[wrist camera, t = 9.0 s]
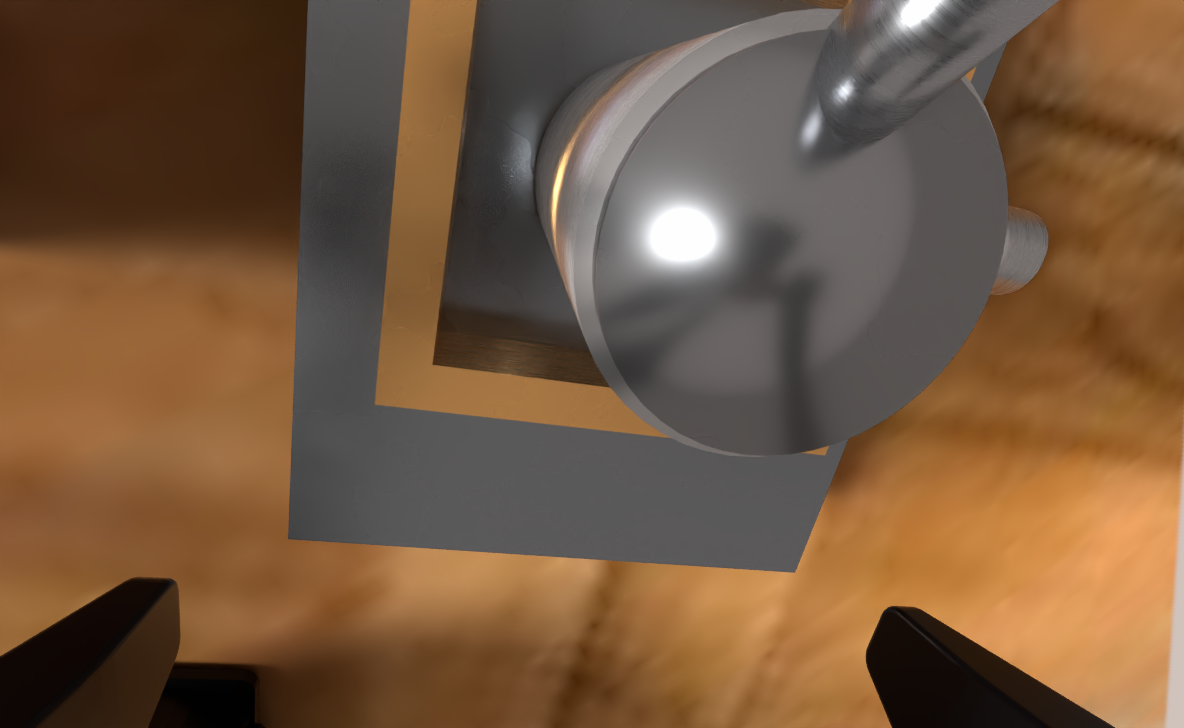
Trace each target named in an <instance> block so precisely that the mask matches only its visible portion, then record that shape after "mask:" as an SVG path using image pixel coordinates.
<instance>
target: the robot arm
mask: <svg viewBox="0 0 1184 728" xmlns="http://www.w3.org/2000/svg"><path fill="white" fill-rule="evenodd" d="M179 645H180V611H179V589H178V585H177V583H176V582H175V581H174V580H173V579H170V578H153V577H135V578H131V579H129V580H127V581H125V582H123V583H121V584H120V585H118V586H116V587H115V588H113V589H111V590H110V591H108V592H106V593H105V594H103V595H101V596H100V597H98V598H96V599H95V600H93V601H91V602H90V603H88V604H86V605H85V606H83V607H81V608H80V609H78V610H77V611H75V612H73V613H72V614H70V615H68V616H67V617H65V618H63V619H62V620H60V621H58V622H57V623H55V624H53V625H52V626H50V627H48V628H47V629H45V630H43V631H42V632H40V633H38V634H37V635H35V636H33V637H32V638H30V639H28V640H27V641H25V642H23V643H22V644H20V645H18V646H17V647H15V648H13V649H12V650H10V651H8V652H7V653H5V654H3V655H2V656H0V728H266V727H265V726H264V724H263V723H258V712H259V679H258V676H257V675H256V674H255V673H253V672H251V671H247V670H223V669H181V668H172V667H173V665H174V662H175V659H176V656H177V653H178V649H179ZM866 664H867V668H868V671H869V673H870V676H871V678H872V680H873V683H874V685H875V688H876V690H877V693H878V695H879V697H880V700H881V702H882V705H883V707H884V709H885V712H886V714H887V717H888V719H889V722H890V724H891V726H892V728H1115V727H1113V726H1112V725H1110V724H1108V723H1107V722H1105V721H1103V720H1102V719H1100V718H1098V717H1097V716H1095V715H1093V714H1092V713H1090V712H1089V711H1087V710H1085V709H1084V708H1082V707H1080V706H1079V705H1077V704H1075V703H1074V702H1072V701H1070V700H1069V699H1067V698H1066V697H1064V696H1062V695H1061V694H1059V693H1057V692H1056V691H1054V690H1052V689H1051V688H1049V687H1047V686H1046V685H1044V684H1042V683H1041V682H1039V681H1038V680H1036V679H1034V678H1033V677H1031V676H1029V675H1028V674H1026V673H1024V672H1023V671H1021V670H1019V669H1018V668H1016V667H1015V666H1013V665H1011V664H1010V663H1008V662H1006V661H1005V660H1003V659H1001V658H1000V657H998V656H996V655H995V654H993V653H992V652H990V651H988V650H987V649H985V648H983V647H982V646H980V645H978V644H977V643H975V642H973V641H972V640H970V639H968V638H967V637H965V636H964V635H962V634H960V633H959V632H957V631H955V630H954V629H952V628H950V627H949V626H947V625H945V624H944V623H942V622H941V621H939V620H937V619H936V618H934V617H932V616H931V615H929V614H927V613H926V612H924V611H922V610H921V609H918V608H915V607H905V606H891V607H888V608H887V609H886V610H885V611H884V612H883V613H882V615H881V618H880V620H879V622H878V624H877V627H876V629H875V631H874V633H873V636H872V638H871V640H870V642H869V645H868V647H867V650H866ZM241 685H242V686H241Z"/></svg>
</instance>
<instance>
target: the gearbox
mask: <svg viewBox="0 0 1184 728" xmlns="http://www.w3.org/2000/svg"><path fill="white" fill-rule="evenodd" d="M849 1H850V0H308V14H307V42H306V69H305V96H304V123H303V150H302V178H301V205H300V232H299V259H298V287H297V314H296V341H295V368H294V395H293V423H292V450H291V477H290V504H289V532H288V539H295V540H310V541H325V542H340V543H355V544H370V545H386V546H401V547H416V548H431V549H446V550H461V551H476V552H491V553H506V554H522V555H537V556H552V557H567V558H582V559H597V560H612V561H627V562H643V563H658V564H673V565H688V566H703V567H718V568H733V569H748V570H764V571H779V572H794V573H795V571H796V569H797V566H798V564H799V561H800V559H801V556H802V554H803V551H804V549H805V546H806V544H807V541H808V539H809V536H810V534H811V531H812V529H813V526H814V524H815V521H816V519H817V516H818V514H819V511H820V509H821V506H822V504H823V501H824V499H825V496H826V494H827V491H828V489H829V486H830V484H831V481H832V479H833V476H834V474H835V471H836V469H837V466H838V464H839V461H840V459H841V457H842V454H843V452H844V449H845V447H846V444H847V442H848V439H849V438H848V439H846V440H844V441H841V442H839V443H836V444H833V445H829V446H826V447H823V448H819V449H816V450H812V451H806V452H801V453H795V454H789V455H779V456H764V457H743V456H729V455H724V454H718V453H713V452H707V451H704V450H701V449H698V448H695V447H692V446H688V445H685V444H683V443H681V442H679V441H677V440H675V439H672V438H670V437H668V436H666V435H664V434H662V433H661V432H659V431H658V430H656V429H655V428H653V427H652V426H650V425H649V424H647V423H646V422H644V421H643V420H642V419H641V418H639V417H638V416H637V415H636V414H635V413H634V412H633V411H632V410H631V409H629V408H628V407H627V406H626V405H625V404H624V403H623V402H622V400H621V399H620V398H619V397H618V396H617V394H616V393H615V392H614V391H613V390H612V388H611V387H610V386H609V385H608V383H607V381H606V380H605V378H604V377H603V375H602V373H601V372H600V370H599V368H598V367H597V365H596V364H595V361H594V359H593V357H592V354H591V352H590V350H589V347H588V345H587V343H586V341H585V338H584V336H583V333H582V330H581V328H580V325H579V322H578V320H577V317H576V314H575V312H574V309H573V306H572V304H571V301H570V298H569V296H568V293H567V291H566V288H565V285H564V283H563V280H562V277H561V275H560V272H559V269H558V267H557V264H556V261H555V259H554V256H553V254H552V251H551V248H550V246H549V243H548V240H547V238H546V235H545V232H544V230H543V227H542V224H541V221H540V217H539V214H538V210H537V204H536V198H535V169H536V161H537V156H538V152H539V148H540V144H541V142H542V139H543V136H544V134H545V131H546V129H547V127H548V125H549V123H550V121H551V119H552V117H553V116H554V114H555V112H556V111H557V110H558V108H559V107H560V105H561V104H562V103H563V101H564V100H565V99H566V98H567V97H568V96H569V95H570V94H571V92H572V91H573V90H574V89H575V88H576V87H578V86H579V85H580V84H581V83H582V82H584V81H585V80H586V79H587V78H589V77H590V76H592V75H593V74H595V73H597V72H598V71H600V70H602V69H604V68H606V67H608V66H610V65H613V64H615V63H617V62H620V61H624V60H627V59H630V58H633V57H637V56H640V55H643V54H646V53H650V52H653V51H656V50H659V49H663V48H666V47H669V46H672V45H676V44H679V43H682V42H685V41H689V40H692V39H695V38H698V37H702V36H705V35H708V34H711V33H715V32H718V31H721V30H724V29H728V28H731V27H734V26H737V25H741V24H744V23H747V22H750V21H754V20H758V19H761V18H765V17H769V16H772V15H776V14H780V13H783V12H791V11H799V10H808V9H816V8H819V9H843V8H844V7H845V6H846V5H847V4H848V2H849ZM1007 42H1008V41H1007ZM1007 42H1006V43H1005V44H1004V45H1002V46H1001V47H1000V48H999V49H997V50H996V51H995V52H994V53H992V54H991V55H990V56H989V57H987V58H986V59H985V60H984V61H982V62H981V63H980V64H979V65H977V66H976V67H975V68H974V69H972V70H971V71H970V72H969V73H967V74H966V75H965V76H966V77H967V78H968V79H969V81H970V82H971V83H972V85H973V86H974V88H975V90H976V92H977V93H978V95H979V97H980V99H981V100H982V102H984V99H985V97H986V94H987V92H988V89H989V87H990V84H991V82H992V79H993V77H994V74H995V72H996V69H997V67H998V64H999V62H1000V59H1001V57H1002V54H1003V52H1004V49H1005V47H1006V44H1007ZM1047 248H1048V232H1047V228H1046V225H1045V223H1044V221H1043V220H1042V219H1041V217H1040V216H1039V215H1037V214H1036V213H1034V212H1032V211H1029V210H1026V209H1021V208H1017V207H1013V206H1008V222H1007V232H1006V238H1005V244H1004V251H1003V255H1002V259H1001V263H1000V266H999V270H998V273H997V277H996V280H995V283H994V285H993V288H992V290H991V293H990V294H992V295H1006V294H1010V293H1013V292H1015V291H1017V290H1019V289H1020V288H1022V287H1023V286H1025V285H1026V284H1027V283H1028V282H1029V281H1030V280H1031V279H1032V278H1033V277H1034V276H1035V275H1036V273H1037V272H1038V270H1039V269H1040V267H1041V265H1042V263H1043V261H1044V259H1045V256H1046V252H1047Z"/></svg>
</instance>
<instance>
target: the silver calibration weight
mask: <svg viewBox="0 0 1184 728" xmlns="http://www.w3.org/2000/svg"><path fill="white" fill-rule="evenodd" d="M1057 1H1059V0H850V1H849V2H848V4H847V5H846V6H845V7H844V8H843V9H819V8H816V9H808V10H799V11H791V12H783V13H780V14H776V15H772V16H769V17H765V18H761V19H758V20H754V21H750V22H747V23H744V24H741V25H737V26H734V27H731V28H728V29H724V30H721V31H718V32H715V33H711V34H708V35H705V36H702V37H698V38H695V39H692V40H689V41H685V42H682V43H679V44H676V45H672V46H669V47H666V48H663V49H659V50H656V51H653V52H650V53H646V54H643V55H640V56H637V57H633V58H630V59H627V60H624V61H620V62H617V63H615V64H613V65H610V66H608V67H606V68H604V69H602V70H600V71H598V72H597V73H595V74H593V75H592V76H590V77H589V78H587V79H586V80H585V81H584V82H582V83H581V84H580V85H579V86H578V87H576V88H575V89H574V90H573V91H572V92H571V94H570V95H569V96H568V97H567V98H566V99H565V100H564V101H563V103H562V104H561V105H560V107H559V108H558V110H557V111H556V112H555V114H554V116H553V117H552V119H551V121H550V123H549V125H548V127H547V129H546V131H545V134H544V136H543V139H542V142H541V144H540V148H539V152H538V156H537V161H536V169H535V198H536V204H537V210H538V214H539V217H540V221H541V224H542V227H543V230H544V232H545V235H546V238H547V240H548V243H549V246H550V248H551V251H552V254H553V256H554V259H555V261H556V264H557V267H558V269H559V272H560V275H561V277H562V280H563V283H564V285H565V288H566V291H567V293H568V296H569V298H570V301H571V304H572V306H573V309H574V312H575V314H576V317H577V320H578V322H579V325H580V328H581V330H582V333H583V336H584V338H585V341H586V343H587V345H588V347H589V350H590V352H591V354H592V357H593V359H594V361H595V364H596V365H597V367H598V368H599V370H600V372H601V373H602V375H603V377H604V378H605V380H606V381H607V383H608V385H609V386H610V387H611V388H612V390H613V391H614V392H615V393H616V394H617V396H618V397H619V398H620V399H621V400H622V402H623V403H624V404H625V405H626V406H627V407H628V408H629V409H631V410H632V411H633V412H634V413H635V414H636V415H637V416H638V417H639V418H641V419H642V420H643V421H644V422H646V423H647V424H649V425H650V426H652V427H653V428H655V429H656V430H658V431H659V432H661V433H662V434H664V435H666V436H668V437H670V438H672V439H675V440H677V441H679V442H681V443H683V444H685V445H688V446H692V447H695V448H698V449H701V450H704V451H707V452H713V453H718V454H724V455H729V456H743V457H764V456H779V455H789V454H795V453H801V452H806V451H812V450H816V449H819V448H823V447H826V446H829V445H833V444H836V443H839V442H841V441H844V440H846V439H848V438H851V437H853V436H856V435H858V434H860V433H862V432H864V431H866V430H868V429H869V428H871V427H873V426H875V425H877V424H879V423H881V422H882V421H884V420H885V419H887V418H888V417H890V416H891V415H893V414H894V413H896V412H897V411H898V410H900V409H901V408H903V407H904V406H905V405H907V404H908V403H909V402H910V401H911V400H913V399H914V398H915V397H916V396H917V395H919V394H920V393H921V392H922V391H923V390H924V389H925V388H926V387H927V386H928V385H929V384H930V383H931V382H932V381H933V380H934V379H935V378H936V377H937V376H938V375H939V374H940V373H941V372H942V371H943V370H944V368H945V367H946V366H947V365H948V363H949V362H950V361H951V360H952V358H953V357H954V356H955V355H956V354H957V352H958V351H959V349H960V348H961V346H962V345H963V343H964V342H965V340H966V339H967V337H968V336H969V334H970V333H971V331H972V330H973V328H974V326H975V324H976V322H977V320H978V319H979V317H980V315H981V313H982V311H983V309H984V307H985V305H986V303H987V300H988V298H989V295H990V293H991V290H992V288H993V285H994V283H995V280H996V277H997V273H998V270H999V266H1000V263H1001V259H1002V255H1003V251H1004V244H1005V238H1006V232H1007V222H1008V190H1007V179H1006V171H1005V166H1004V162H1003V158H1002V153H1001V149H1000V145H999V143H998V140H997V136H996V133H995V130H994V128H993V125H992V123H991V120H990V117H989V115H988V112H987V110H986V107H985V106H984V104H983V102H982V100H981V99H980V97H979V95H978V93H977V92H976V90H975V88H974V86H973V85H972V83H971V82H970V81H969V79H968V78H967V77H966V76H965V75H966V74H967V73H969V72H970V71H971V70H972V69H974V68H975V67H976V66H977V65H979V64H980V63H981V62H982V61H984V60H985V59H986V58H987V57H989V56H990V55H991V54H992V53H994V52H995V51H996V50H997V49H999V48H1000V47H1001V46H1002V45H1004V44H1005V43H1006V42H1007V41H1009V40H1010V39H1011V38H1012V37H1014V36H1015V35H1016V34H1017V33H1019V32H1020V31H1021V30H1022V29H1024V28H1025V27H1026V26H1027V25H1029V24H1030V23H1031V22H1032V21H1034V20H1035V19H1036V18H1037V17H1039V16H1040V15H1041V14H1042V13H1044V12H1045V11H1046V10H1047V9H1049V8H1050V7H1051V6H1052V5H1054V4H1055V3H1056V2H1057Z"/></svg>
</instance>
